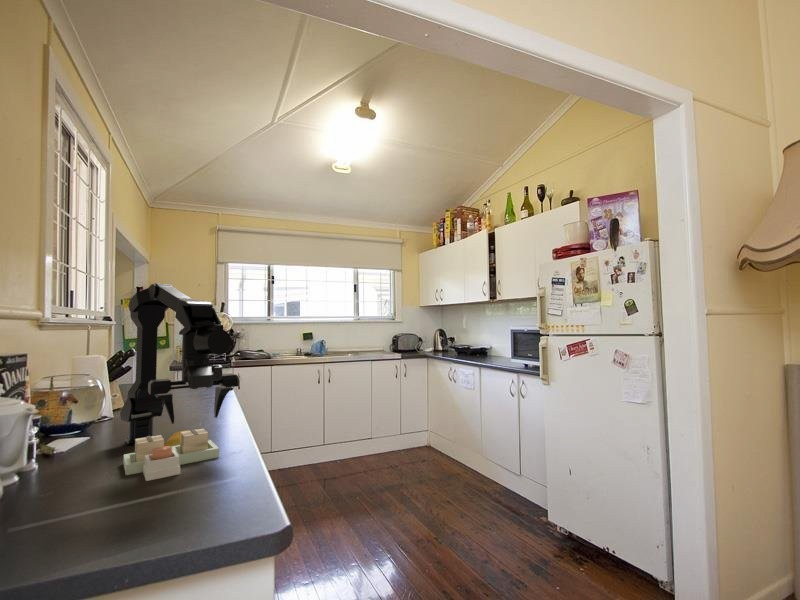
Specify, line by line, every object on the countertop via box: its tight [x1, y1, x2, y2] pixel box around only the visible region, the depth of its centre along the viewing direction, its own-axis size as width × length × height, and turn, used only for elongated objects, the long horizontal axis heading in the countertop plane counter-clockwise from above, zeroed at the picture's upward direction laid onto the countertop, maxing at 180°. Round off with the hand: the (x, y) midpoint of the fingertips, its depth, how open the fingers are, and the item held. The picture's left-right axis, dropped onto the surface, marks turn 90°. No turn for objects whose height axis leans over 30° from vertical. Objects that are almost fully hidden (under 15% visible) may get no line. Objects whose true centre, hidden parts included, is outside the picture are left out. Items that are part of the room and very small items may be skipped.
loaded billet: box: [134, 434, 165, 462], centre depth 90 cm, size 5×5×6 cm
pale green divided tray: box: [122, 439, 220, 476], centre depth 93 cm, size 9×18×2 cm, turn 127°
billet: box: [180, 428, 209, 454], centre depth 95 cm, size 5×5×6 cm
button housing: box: [142, 450, 181, 482], centre depth 84 cm, size 6×6×4 cm
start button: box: [152, 446, 172, 461], centre depth 85 cm, size 4×4×2 cm
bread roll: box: [164, 430, 190, 446], centre depth 105 cm, size 8×9×4 cm
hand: (194, 420), depth 96 cm, fingers open, 9 cm apart
